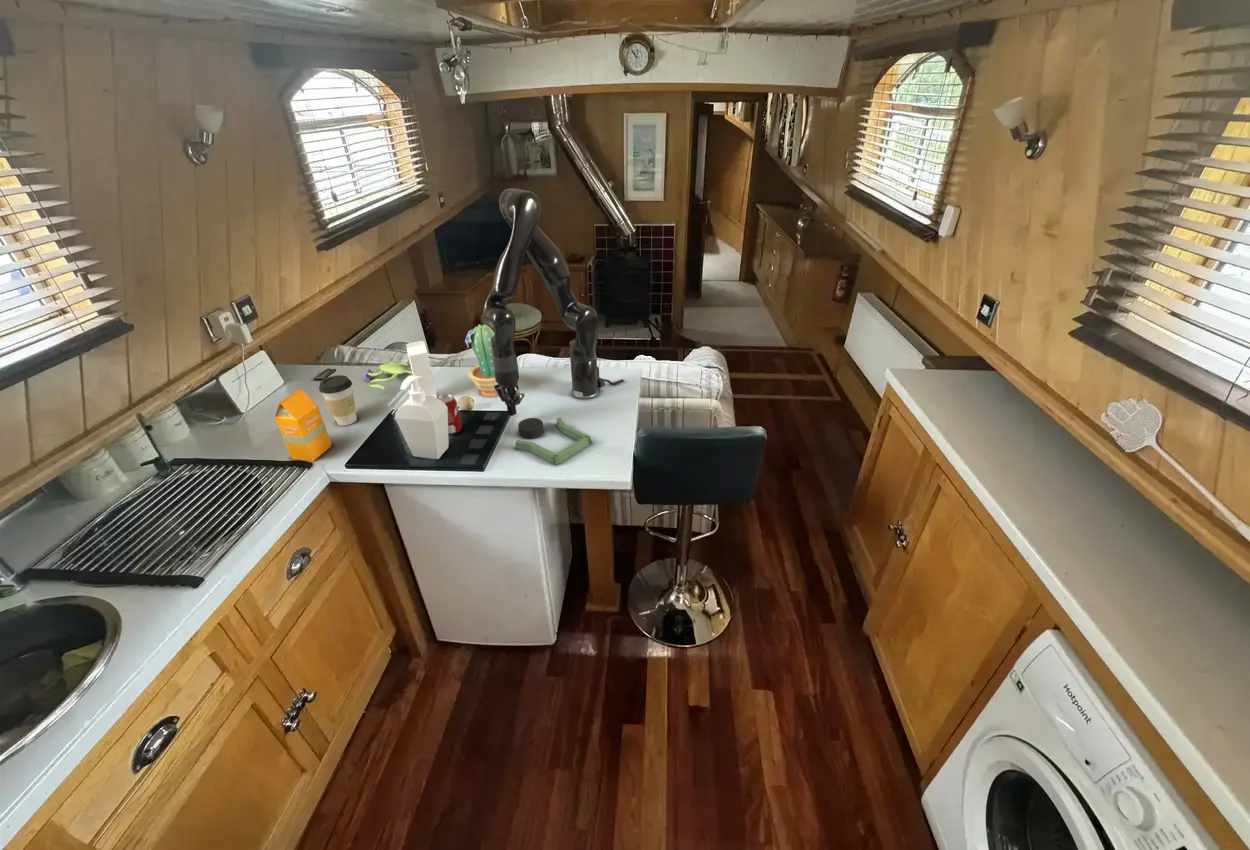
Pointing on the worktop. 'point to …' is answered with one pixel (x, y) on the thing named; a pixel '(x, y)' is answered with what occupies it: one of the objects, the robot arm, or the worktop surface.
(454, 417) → the soda can
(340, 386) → the coffee cup
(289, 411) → the orange juice
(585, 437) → the frame
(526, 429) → the puck
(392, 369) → the figurine
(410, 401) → the soap bottle
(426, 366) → the milk
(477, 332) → the potted cactus
